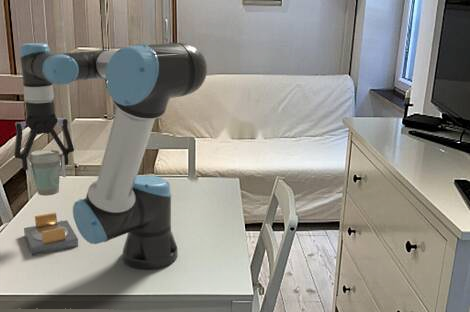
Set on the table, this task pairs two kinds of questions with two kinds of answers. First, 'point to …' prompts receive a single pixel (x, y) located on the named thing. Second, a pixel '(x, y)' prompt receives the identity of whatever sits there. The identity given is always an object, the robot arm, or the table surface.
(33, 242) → the block
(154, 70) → the robot arm
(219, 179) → the table surface
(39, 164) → the coffee cup
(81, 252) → the table surface
